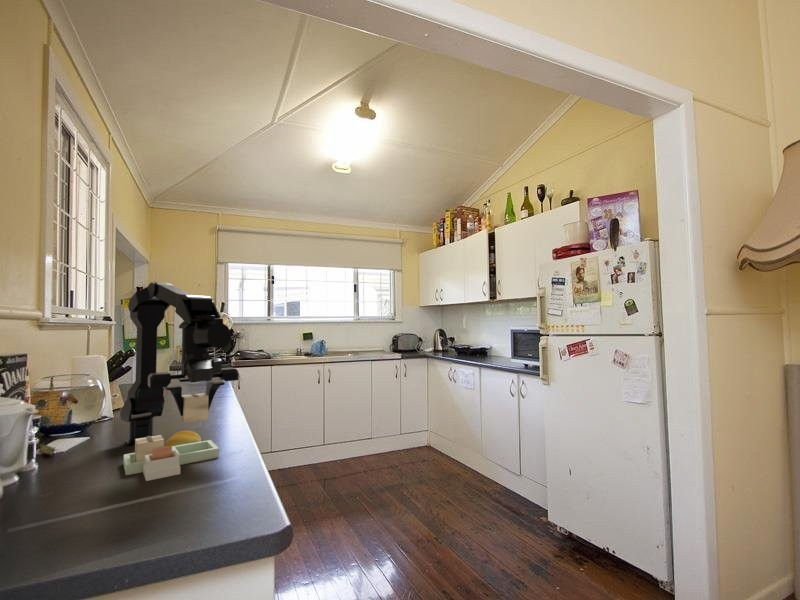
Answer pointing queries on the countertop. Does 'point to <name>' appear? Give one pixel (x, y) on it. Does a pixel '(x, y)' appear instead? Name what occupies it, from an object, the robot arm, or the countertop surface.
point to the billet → (195, 407)
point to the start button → (161, 452)
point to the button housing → (161, 467)
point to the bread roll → (183, 438)
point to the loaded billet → (147, 446)
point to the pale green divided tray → (185, 452)
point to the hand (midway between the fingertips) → (194, 413)
